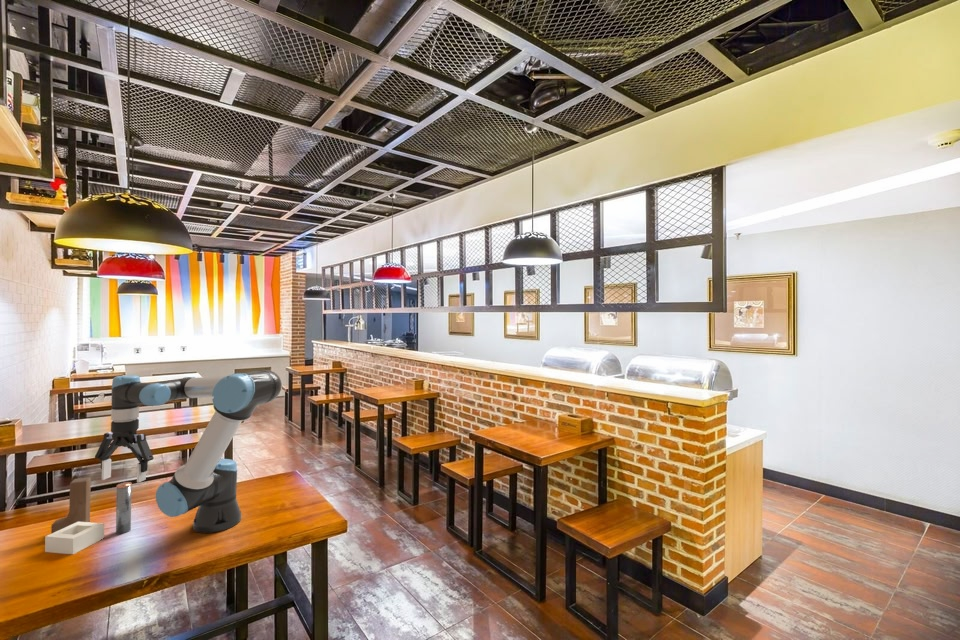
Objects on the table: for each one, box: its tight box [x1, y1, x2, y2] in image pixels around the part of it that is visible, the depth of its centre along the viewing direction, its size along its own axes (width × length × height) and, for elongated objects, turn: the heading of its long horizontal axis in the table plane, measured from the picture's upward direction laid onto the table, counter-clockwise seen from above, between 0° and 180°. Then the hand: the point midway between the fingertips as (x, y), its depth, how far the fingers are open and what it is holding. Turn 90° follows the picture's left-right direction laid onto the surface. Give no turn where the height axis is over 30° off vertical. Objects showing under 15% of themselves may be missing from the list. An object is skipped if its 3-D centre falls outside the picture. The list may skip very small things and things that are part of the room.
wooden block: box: [50, 476, 92, 534], centre depth 147 cm, size 9×4×18 cm, turn 118°
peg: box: [115, 481, 133, 535], centre depth 148 cm, size 4×4×17 cm
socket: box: [44, 521, 105, 555], centre depth 139 cm, size 10×10×5 cm
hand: (123, 479), depth 149 cm, fingers open, 13 cm apart
